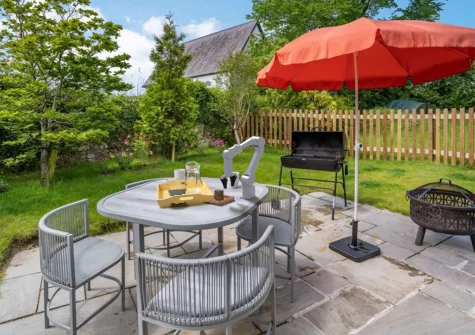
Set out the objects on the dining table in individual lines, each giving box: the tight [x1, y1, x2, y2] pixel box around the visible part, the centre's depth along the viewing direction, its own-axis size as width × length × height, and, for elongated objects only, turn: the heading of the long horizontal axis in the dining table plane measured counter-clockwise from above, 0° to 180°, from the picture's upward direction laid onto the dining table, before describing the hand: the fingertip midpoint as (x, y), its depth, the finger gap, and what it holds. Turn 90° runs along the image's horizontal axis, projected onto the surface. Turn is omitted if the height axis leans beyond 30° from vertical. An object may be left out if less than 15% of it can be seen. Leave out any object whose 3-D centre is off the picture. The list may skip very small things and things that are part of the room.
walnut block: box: [213, 188, 225, 201], centre depth 205 cm, size 4×5×7 cm
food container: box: [167, 187, 187, 197], centre depth 202 cm, size 12×6×10 cm, turn 101°
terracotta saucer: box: [208, 194, 235, 206], centre depth 206 cm, size 15×15×2 cm
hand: (228, 187), depth 204 cm, fingers open, 7 cm apart
